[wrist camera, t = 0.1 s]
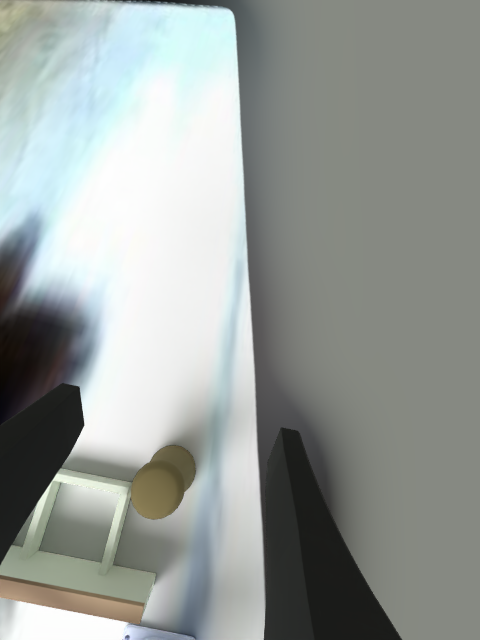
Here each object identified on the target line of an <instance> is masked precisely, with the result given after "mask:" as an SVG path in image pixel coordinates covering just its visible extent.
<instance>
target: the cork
mask: <svg viewBox="0 0 480 640" xmlns="http://www.w3.org/2000/svg"><path fill="white" fill-rule="evenodd" d="M195 472H196V470H195V462H194V459H193V457H192V455H191V454H190V453H189V452H188V450H186V449H184V448H183V447H180V446H176V445H172V446H166V447H164V448H162V449H160V450H159V451H158V452H157V453H156V454H154V456H153V457H152V459H151V461H150V463H147V464H146V465H144V466H143V467H142V468H141V469H140V470H139V471H138V472H137V474H136V476H135V477H134V479H133V483H132V486H131V500H132V503H133V506H134V508H135V509H136V510H137V512H138V513H139V514H140V515H142V516H143V517H145V518H148V519H153V520H154V519H161V518H164V517H166V516H168V515H170V514H172V513H173V512H174V511H175V510H176V509H177V508H178V506H179V505H180V503H181V501H182V499H183V496H184V492H185V491H186V490H187V489H188V488H189V487H190V486H191V484H192V482H193V480H194V477H195Z"/></svg>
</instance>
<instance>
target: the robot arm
mask: <svg viewBox="0 0 480 640" xmlns="http://www.w3.org/2000/svg"><path fill="white" fill-rule="evenodd" d="M83 427H84V418H83V411H82V403H81V395H80V388H79V386H74V385H69V384H64V383H62V384H60V385H59V386H57V387H56V388H54V389H53V390H51V391H50V392H48V393H47V394H45V395H44V396H43V397H41V398H40V399H38V400H37V401H35V402H34V403H33V404H31V405H30V406H28V407H27V408H25V409H24V410H22V411H21V412H19V413H18V414H16V415H15V416H13V417H12V418H10V419H9V420H7V421H6V422H4V423H3V424H1V425H0V565H1V563H2V561H3V560H4V558H5V556H6V554H7V552H8V551H9V549H10V547H11V545H12V543H13V541H14V540H15V538H16V536H17V534H18V532H19V531H20V529H21V528H22V526H23V524H24V523H25V521H26V519H27V518H28V516H29V515H30V513H31V512H32V510H33V509H34V507H35V506H36V504H37V503H38V501H39V500H40V498H41V497H42V495H43V494H44V492H45V491H46V489H47V488H48V486H49V485H50V483H51V482H52V480H53V479H54V477H55V476H56V474H57V473H58V471H59V470H60V468H61V467H62V465H63V463H64V462H65V460H66V459H67V457H68V456H69V454H70V453H71V451H72V449H73V447H74V445H75V443H76V441H77V439H78V437H79V435H80V433H81V431H82V429H83ZM265 493H266V494H265V496H266V535H267V536H266V537H267V594H266V613H265V630H264V640H402V639H401V638H400V636H399V634H398V632H397V631H396V629H395V628H394V626H393V624H392V623H391V621H390V620H389V618H388V616H387V615H386V613H385V612H384V610H383V608H382V607H381V605H380V604H379V602H378V600H377V599H376V598H375V596H374V594H373V592H372V591H371V589H370V587H369V585H368V584H367V582H366V580H365V578H364V577H363V575H362V573H361V572H360V570H359V568H358V566H357V564H356V563H355V561H354V559H353V557H352V556H351V553H350V551H349V550H348V548H347V546H346V544H345V542H344V540H343V538H342V536H341V534H340V532H339V530H338V528H337V526H336V523H335V521H334V519H333V517H332V515H331V513H330V511H329V508H328V507H327V504H326V502H325V499H324V497H323V495H322V493H321V490H320V488H319V485H318V483H317V480H316V478H315V476H314V473H313V470H312V468H311V465H310V462H309V460H308V457H307V454H306V451H305V448H304V445H303V442H302V439H301V436H300V433H299V432H298V431H296V430H291V429H286V428H281V429H280V431H279V434H278V437H277V439H276V442H275V444H274V447H273V450H272V452H271V455H270V457H269V460H268V464H267V477H266V491H265ZM126 635H129V636H130V637H129V638H126ZM122 640H195V638H194V637H192V636H187V635H182V634H177V633H172V632H167V631H162V630H157V629H152V628H146V627H141V626H136V625H131V624H130V625H127V626H126V628H125V630H124V634H123V638H122Z"/></svg>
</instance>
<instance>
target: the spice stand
mask: <svg viewBox="0 0 480 640" xmlns="http://www.w3.org/2000/svg"><path fill="white" fill-rule="evenodd" d="M61 482H62V483H67V484H72V485H77V486H82V487H87V488H92V489H97V490H102V491H107V492H113V493H118V494H120V496H119V500H118V504H117V507H116V511H115V515H114V518H113V522H112V525H111V529H110V533H109V536H108V540H107V544H106V547H105V551H104V555H103V558H102V562H95V561H90V560H85V559H80V558H75V557H70V556H65V555H60V554H55V553H50V552H45V551H40V550H39V548H40V544H41V541H42V538H43V535H44V532H45V529H46V526H47V523H48V520H49V517H50V514H51V511H52V508H53V505H54V502H55V499H56V495H57V492H58V489H59V486H60V483H61ZM131 486H132V482H127V481H122V480H117V479H112V478H107V477H102V476H97V475H92V474H87V473H82V472H77V471H72V470H67V469H62V468H60V470H59V471H58V473H57V474H56V476H55V477H54V479H53V480H52V482H51V483H50V485H49V486H48V488H47V489H46V491H45V492H44V494H43V495H42V497H41V498H40V500H39V501H38V503H37V506H36V509H35V512H34V515H33V518H32V521H31V524H30V527H29V530H28V533H27V536H26V539H25V542H24V544H23V547H19V546H14V545H11V547H10V549H9V551H8V552H7V554H6V556H5V558H4V560H3V561H2V563H1V565H0V597H1V598H6V599H11V600H16V601H22V602H27V603H32V604H37V605H42V606H47V607H52V608H58V609H63V610H68V611H73V612H78V613H83V614H88V615H93V616H99V617H104V618H109V619H114V620H119V621H124V622H129V623H135V624H140V622H141V619H142V616H143V613H144V610H145V608H146V605H147V602H148V600H149V597H150V594H151V591H152V589H153V586H154V582H155V577H156V573H151V572H146V571H141V570H136V569H131V568H126V567H121V566H116V565H113V562H114V558H115V554H116V551H117V547H118V543H119V539H120V536H121V532H122V528H123V524H124V520H125V517H126V513H127V509H128V505H129V501H130V498H131Z"/></svg>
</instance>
